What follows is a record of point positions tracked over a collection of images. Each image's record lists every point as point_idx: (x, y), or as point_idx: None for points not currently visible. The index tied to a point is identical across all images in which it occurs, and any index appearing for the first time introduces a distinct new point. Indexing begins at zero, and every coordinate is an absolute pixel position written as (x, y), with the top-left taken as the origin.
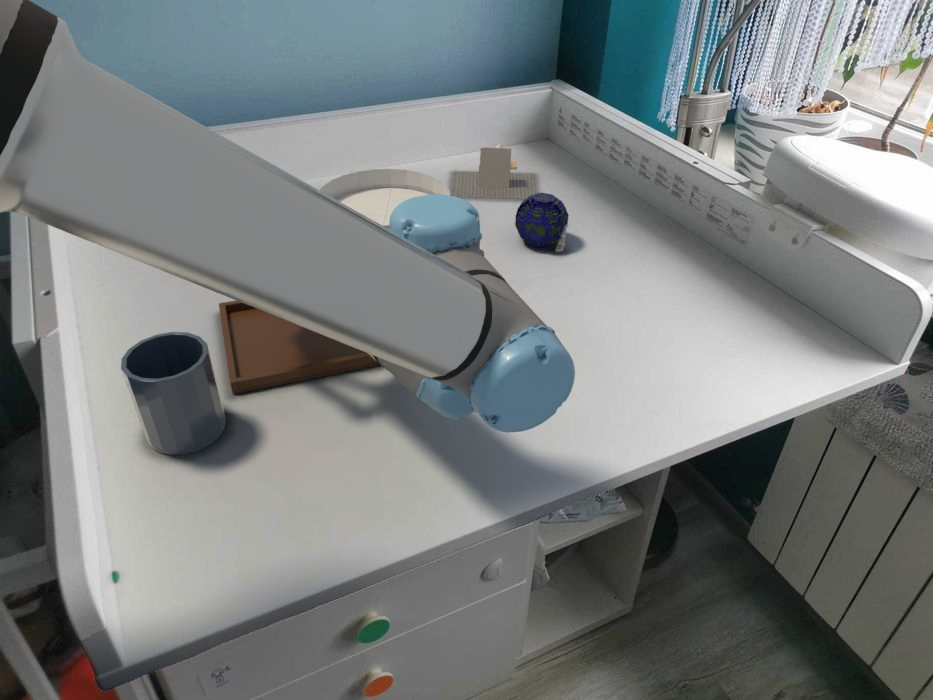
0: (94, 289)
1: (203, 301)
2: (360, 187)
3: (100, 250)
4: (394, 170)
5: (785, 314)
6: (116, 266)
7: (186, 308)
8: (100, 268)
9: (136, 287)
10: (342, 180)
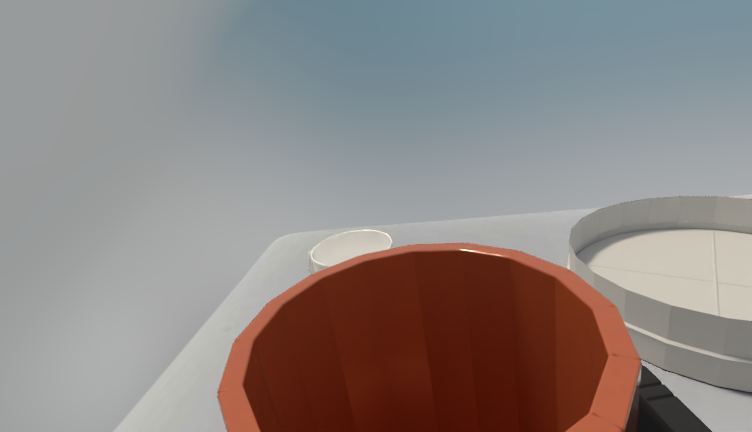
0: (213, 334)
1: None
2: (649, 224)
3: (272, 274)
4: (727, 199)
5: None
6: (266, 301)
7: None
8: (249, 300)
9: None
10: (619, 211)
